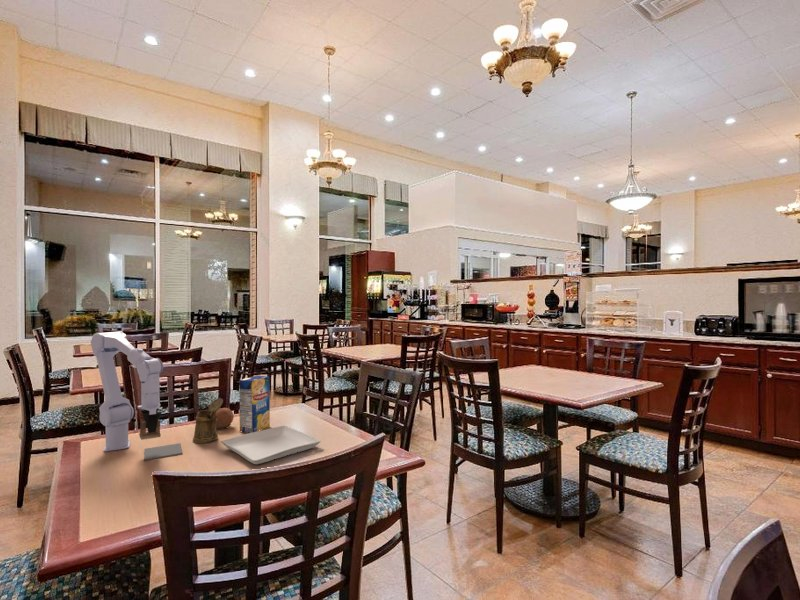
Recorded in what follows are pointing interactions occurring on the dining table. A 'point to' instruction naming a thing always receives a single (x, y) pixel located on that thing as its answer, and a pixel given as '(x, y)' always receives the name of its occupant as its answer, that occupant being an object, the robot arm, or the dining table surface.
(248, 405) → the blue yellow food box
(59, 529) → the dining table surface
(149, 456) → the mat
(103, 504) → the dining table surface
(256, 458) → the square plate
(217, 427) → the onion
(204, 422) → the wooden mug
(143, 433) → the stool
